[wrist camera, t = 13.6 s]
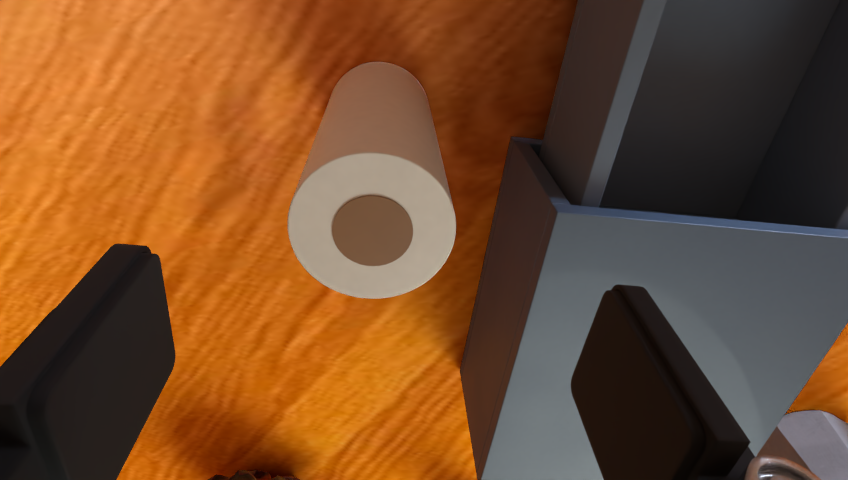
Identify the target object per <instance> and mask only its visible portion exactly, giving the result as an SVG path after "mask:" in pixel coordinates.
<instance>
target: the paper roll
mask: <svg viewBox="0 0 848 480" xmlns="http://www.w3.org/2000/svg"><path fill="white" fill-rule="evenodd" d="M288 234H289V239H290V242H291V246H292V248H293V250H294V253H295V255H296V257H297V258H298V260H299V261H300V263H301V264H302V266H303V267H304V268H305V269H306V270H307V271H308V272H309V273H310V274H311V275H312V276H313V277H314V278H315V279H316V280H318V281H319V282H321V283H322V284H324V285H325V286H327V287H329V288H331V289H333V290H335V291H337V292H340V293H343V294H346V295H349V296H354V297H359V298H369V299H375V298H387V297H393V296H397V295H401V294H404V293H407V292H409V291H412V290H414V289H416V288H418V287H419V286H421V285H422V284H424V283H426V282H427V281H428V280H429V279H431V278H432V277H433V276H434V275H435V274H436V273H437V272H438V271H439V270H440V269H441V267H442V266H443V265H444V263H445V262H446V260H447V258H448V256H449V255H450V253H451V250H452V247H453V245H454V240H455V235H456V217H455V212H454V208H453V204H452V199H451V195H450V191H449V187H448V182H447V178H446V174H445V170H444V165H443V161H442V157H441V153H440V149H439V144H438V140H437V136H436V132H435V127H434V123H433V119H432V115H431V111H430V106H429V102H428V98H427V95H426V93H425V91H424V89H423V87H422V85H421V84H420V83H419V81H418V80H417V79H416V78H415V77H414V76H413V75H412V74H411V73H409V72H408V71H407V70H405V69H403V68H402V67H399V66H397V65H395V64H391V63H387V62H369V63H365V64H361V65H359V66H357V67H354V68H353V69H351V70H350V71H348V72H347V73H346V74H345V75H343V77H342V78H341V79H340V80H339V81H338V83H337V84H336V86H335V88H334V90H333V92H332V94H331V97H330V100H329V102H328V105H327V108H326V110H325V113H324V116H323V118H322V121H321V124H320V126H319V129H318V132H317V134H316V137H315V140H314V142H313V145H312V148H311V150H310V153H309V156H308V158H307V161H306V164H305V167H304V169H303V172H302V175H301V177H300V180H299V183H298V185H297V188H296V191H295V193H294V196H293V199H292V202H291V205H290V208H289V213H288Z"/></svg>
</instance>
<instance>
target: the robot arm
mask: <svg viewBox="0 0 848 480" xmlns="http://www.w3.org/2000/svg"><path fill="white" fill-rule="evenodd" d="M174 363H175V348H174V342H173V336H172V330H171V324H170V318H169V311H168V305H167V299H166V293H165V287H164V281H163V275H162V269H161V262H160V258H159V256H158V255H157V254H151V251H150V249H149V247H147V246H140V245H128V244H114V245H113V246H112V247H110V249H109V250H108V251H107V252H106V253H105V254H104V255H103V256H102V257H101V259H100V260H99V261H98V262H97V263H96V264H95V265H94V266H93V267H92V268H91V270H90V271H89V272H88V273H87V274H86V275H85V276H84V277H83V278H82V279H81V281H80V282H79V283H78V284H77V285H76V286H75V287H74V288H73V289H72V291H71V292H70V293H69V294H68V295H67V296H66V297H65V298H64V299H63V300H62V302H61V303H60V304H59V305H58V306H57V307H56V308H55V309H54V310H52V311H51V312H50V313H49V314H48V315H47V316H46V317H45V318H44V319H43V321H42V322H41V323H40V324H39V325H38V326H37V327H36V328H35V329H34V330H33V331H32V333H31V334H30V335H29V336H28V337H27V338H26V339H25V340H24V341H23V342H22V344H21V345H20V346H19V347H18V348H17V349H16V350H15V351H14V352H13V353H12V355H11V356H10V357H9V358H8V359H7V360H6V361H5V362H4V363H3V364H2V366H1V367H0V480H116V479H117V477H118V475H119V473H120V471H121V469H122V467H123V465H124V463H125V462H126V460H127V458H128V456H129V454H130V452H131V450H132V448H133V446H134V444H135V442H136V440H137V438H138V436H139V434H140V432H141V430H142V428H143V426H144V425H145V423H146V421H147V419H148V417H149V415H150V413H151V411H152V409H153V407H154V405H155V403H156V401H157V399H158V397H159V395H160V393H161V391H162V389H163V388H164V386H165V384H166V382H167V380H168V378H169V376H170V374H171V372H172V370H173V367H174ZM571 393H572V396H573V399H574V401H575V404H576V407H577V409H578V412H579V415H580V417H581V420H582V423H583V426H584V428H585V431H586V434H587V436H588V439H589V442H590V444H591V447H592V450H593V452H594V455H595V458H596V461H597V463H598V466H599V469H600V471H601V474H602V477H603V479H604V480H821V479H820V478H819V477H817V476H816V475H815V474H814V473H812V472H811V471H809V470H808V469H806V468H804V467H803V466H801V465H800V464H798V463H795V462H793V461H791V460H788V459H786V458H783V457H779V456H775V455H759V456H757V457H755V456H754V454H753V453H752V451H751V450H750V448H749V447H748V445H749V444H750V443H751V442H750V440H749V439H748V437H747V436H746V434H745V433H744V431H743V430H742V428H741V427H740V426H739V424H738V423H737V421H736V420H735V418H734V417H733V415H732V414H731V412H730V411H729V410H728V408H727V407H726V405H725V404H724V402H723V401H722V399H721V398H720V396H719V395H718V393H717V392H716V391H715V389H714V388H713V386H712V385H711V383H710V382H709V380H708V379H707V377H706V376H705V375H704V373H703V372H702V370H701V369H700V367H699V366H698V364H697V363H696V361H695V360H694V358H693V357H692V356H691V354H690V353H689V351H688V350H687V348H686V347H685V345H684V344H683V342H682V341H681V339H680V338H679V337H678V335H677V334H676V332H675V331H674V329H673V328H672V326H671V325H670V323H669V322H668V321H667V319H666V318H665V316H664V315H663V313H662V312H661V310H660V309H659V307H658V306H657V304H656V303H655V302H654V300H653V299H652V297H651V296H650V294H649V293H648V291H647V290H646V289H645V288H644V287H641V286H631V285H619V284H617V285H615V286H614V287H613V288H612V289H611V290H607V291H606V292H605V293H604V294H603V296H602V299H601V301H600V304H599V307H598V309H597V312H596V315H595V317H594V320H593V323H592V325H591V328H590V330H589V333H588V336H587V338H586V341H585V344H584V346H583V349H582V351H581V354H580V357H579V359H578V362H577V365H576V367H575V370H574V372H573V375H572V378H571Z"/></svg>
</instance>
